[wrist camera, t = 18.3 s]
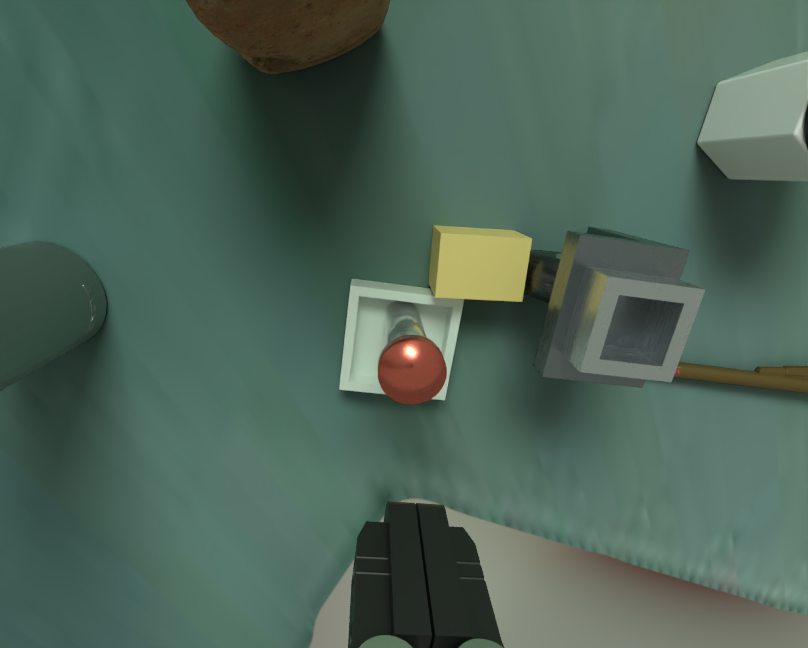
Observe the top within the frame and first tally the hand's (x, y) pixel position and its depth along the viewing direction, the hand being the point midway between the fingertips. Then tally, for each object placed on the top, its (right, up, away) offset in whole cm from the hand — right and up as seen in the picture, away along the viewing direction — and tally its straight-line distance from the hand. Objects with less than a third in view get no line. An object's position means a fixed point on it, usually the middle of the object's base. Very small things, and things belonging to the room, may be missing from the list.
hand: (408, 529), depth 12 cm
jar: (+28, +22, +25) cm, 44 cm away
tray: (-1, +4, +29) cm, 30 cm away
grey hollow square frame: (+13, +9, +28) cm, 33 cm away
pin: (0, +6, +28) cm, 29 cm away
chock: (+6, +11, +27) cm, 30 cm away
